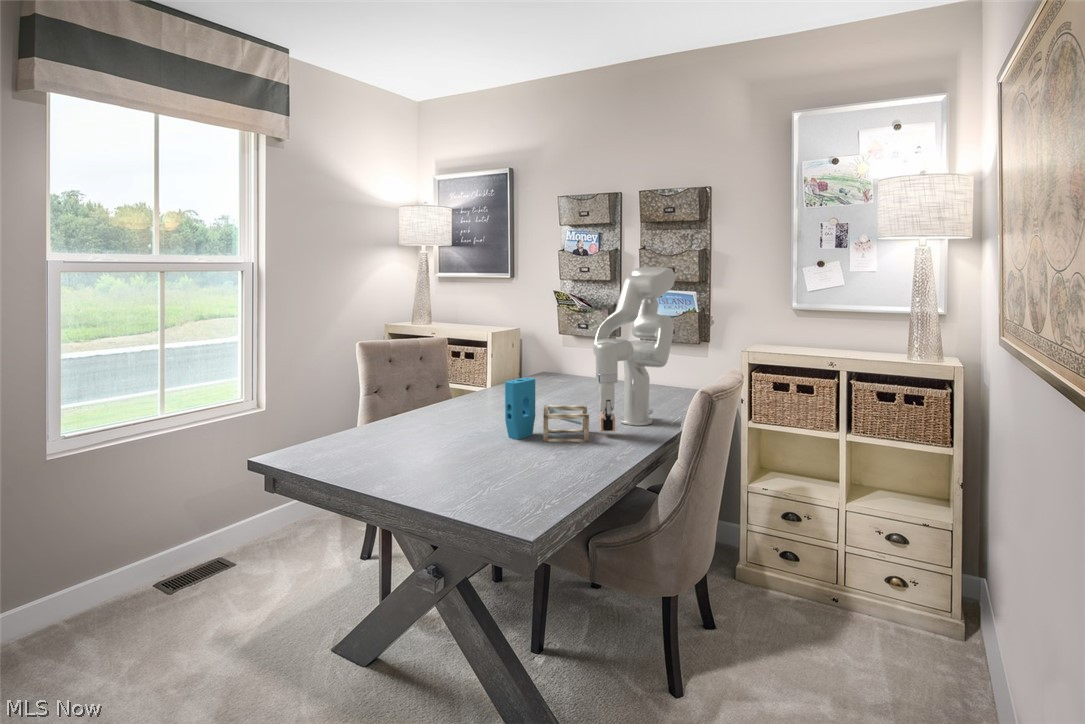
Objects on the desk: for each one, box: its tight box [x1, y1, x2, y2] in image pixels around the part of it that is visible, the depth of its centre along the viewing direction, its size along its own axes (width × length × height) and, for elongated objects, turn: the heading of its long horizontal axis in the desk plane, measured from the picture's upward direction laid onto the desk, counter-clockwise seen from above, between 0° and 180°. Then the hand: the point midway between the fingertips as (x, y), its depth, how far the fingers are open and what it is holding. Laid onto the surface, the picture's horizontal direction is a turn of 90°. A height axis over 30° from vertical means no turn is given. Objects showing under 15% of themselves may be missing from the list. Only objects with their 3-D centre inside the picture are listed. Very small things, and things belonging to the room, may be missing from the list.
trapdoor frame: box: [542, 405, 590, 443], centre depth 225 cm, size 16×14×10 cm
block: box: [504, 377, 536, 440], centre depth 224 cm, size 12×5×20 cm, turn 143°
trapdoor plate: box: [548, 407, 582, 426], centre depth 224 cm, size 12×10×1 cm
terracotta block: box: [599, 413, 616, 433], centre depth 226 cm, size 5×5×5 cm
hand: (607, 427), depth 226 cm, fingers closed on terracotta block, 5 cm apart
